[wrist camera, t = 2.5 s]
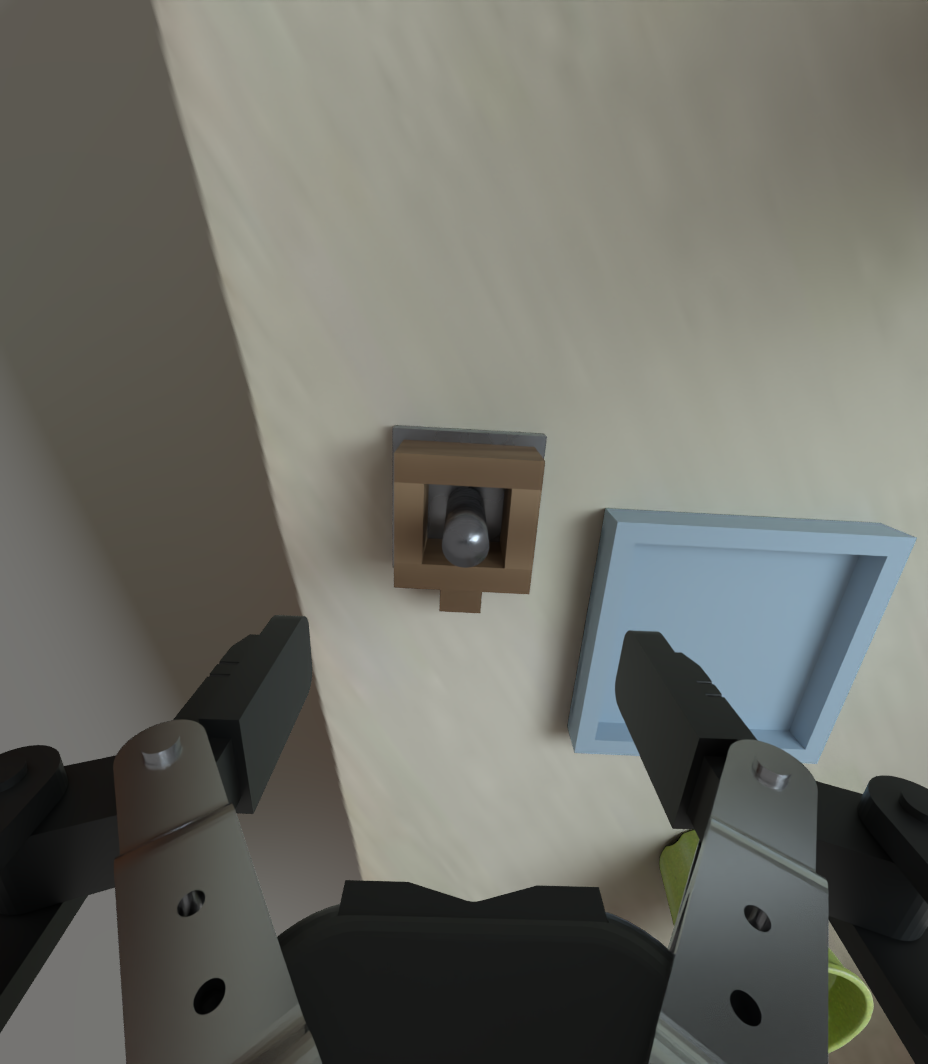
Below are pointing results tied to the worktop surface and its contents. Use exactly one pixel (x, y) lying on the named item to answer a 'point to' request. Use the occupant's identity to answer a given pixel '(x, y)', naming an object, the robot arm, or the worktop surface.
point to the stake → (465, 495)
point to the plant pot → (845, 988)
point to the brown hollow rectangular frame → (424, 556)
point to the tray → (738, 616)
